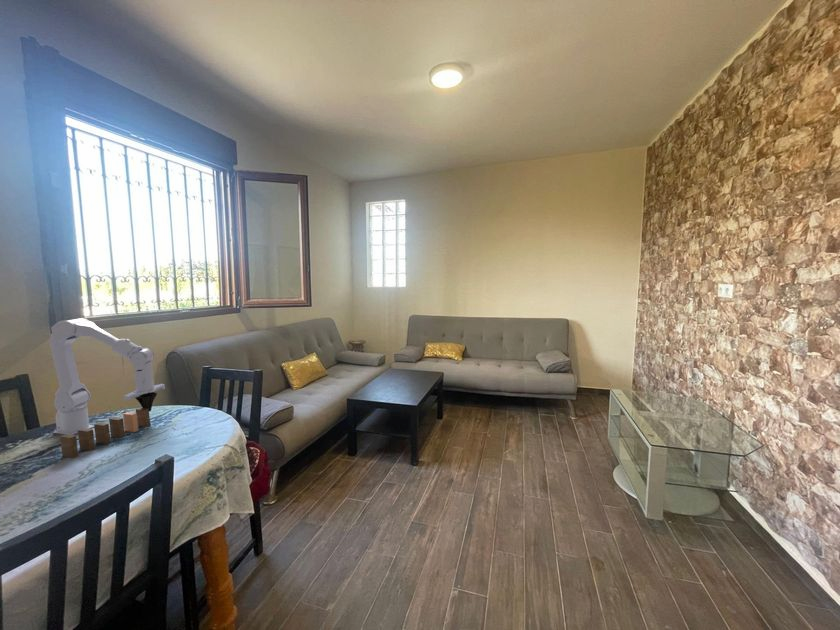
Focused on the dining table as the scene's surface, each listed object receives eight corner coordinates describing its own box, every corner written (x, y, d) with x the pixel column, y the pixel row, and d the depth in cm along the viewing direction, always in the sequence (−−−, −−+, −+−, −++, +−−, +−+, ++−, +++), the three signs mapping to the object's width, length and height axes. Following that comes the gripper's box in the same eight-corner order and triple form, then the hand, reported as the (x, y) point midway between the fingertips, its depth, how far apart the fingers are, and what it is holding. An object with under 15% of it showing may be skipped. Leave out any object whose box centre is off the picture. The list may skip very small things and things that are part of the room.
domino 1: (72, 458, 111) (70, 438, 110) (62, 456, 112) (59, 436, 111) (78, 455, 113) (76, 435, 112) (68, 453, 114) (66, 434, 113)
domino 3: (105, 444, 120) (103, 425, 120) (96, 442, 121) (93, 424, 121) (110, 442, 122) (108, 423, 121) (101, 440, 123) (99, 422, 122)
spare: (134, 432, 130) (132, 414, 129) (124, 430, 131) (123, 413, 130) (138, 430, 131) (136, 413, 130) (129, 429, 132) (127, 412, 131)
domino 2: (89, 450, 116) (87, 431, 115) (80, 449, 117) (77, 430, 116) (95, 448, 117) (92, 429, 117) (85, 447, 118) (83, 428, 118)
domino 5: (146, 426, 134) (144, 410, 133) (137, 425, 135) (135, 409, 134) (150, 425, 136) (148, 408, 135) (141, 423, 137) (139, 407, 136)
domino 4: (120, 437, 125) (118, 420, 124) (111, 436, 126) (109, 418, 125) (124, 436, 127) (123, 418, 126) (115, 434, 128) (113, 417, 127)
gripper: (133, 385, 127) (136, 419, 129) (169, 374, 141) (172, 405, 143) (118, 383, 129) (122, 417, 130) (156, 373, 143) (159, 404, 144)
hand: (147, 411), depth 137 cm, fingers closed
